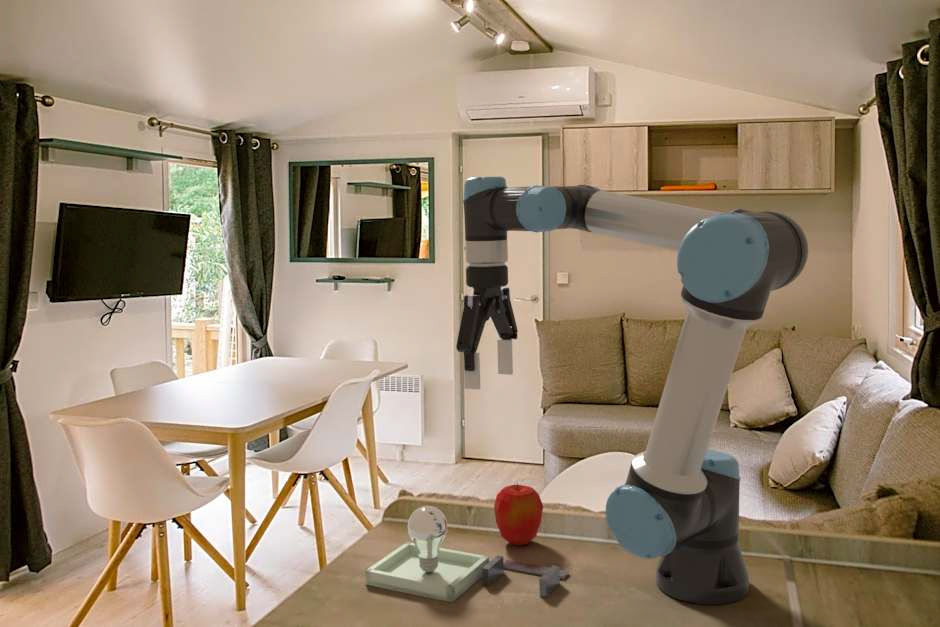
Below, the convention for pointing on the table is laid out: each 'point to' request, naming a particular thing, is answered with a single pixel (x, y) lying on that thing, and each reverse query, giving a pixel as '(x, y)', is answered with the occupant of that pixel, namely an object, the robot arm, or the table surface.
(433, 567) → the light bulb
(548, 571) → the clip holder
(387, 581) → the parts tray
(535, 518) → the apple
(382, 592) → the table surface
